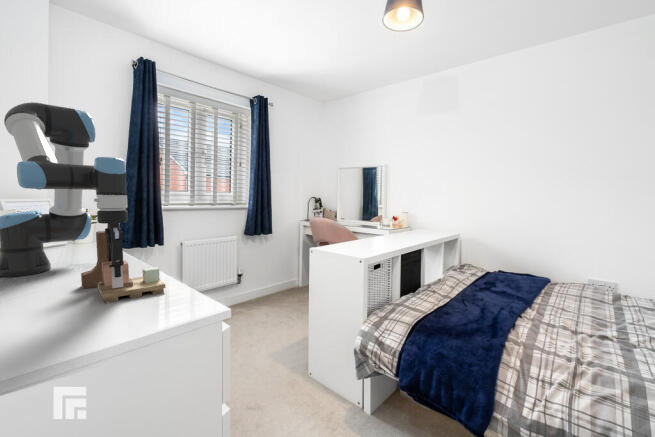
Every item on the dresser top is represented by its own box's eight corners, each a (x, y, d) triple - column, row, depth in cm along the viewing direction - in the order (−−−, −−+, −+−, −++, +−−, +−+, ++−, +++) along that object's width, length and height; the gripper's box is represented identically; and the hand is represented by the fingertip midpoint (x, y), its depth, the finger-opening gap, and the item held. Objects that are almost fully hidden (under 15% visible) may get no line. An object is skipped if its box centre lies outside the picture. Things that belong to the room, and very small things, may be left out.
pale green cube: (142, 280, 99) (142, 268, 99) (156, 278, 102) (156, 266, 102) (145, 283, 96) (145, 270, 96) (159, 280, 99) (159, 268, 99)
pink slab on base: (98, 286, 93) (97, 262, 92) (129, 281, 98) (128, 259, 97) (100, 290, 88) (99, 266, 87) (133, 285, 93) (132, 262, 93)
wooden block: (82, 289, 98) (79, 233, 96) (81, 285, 101) (78, 232, 99) (116, 283, 104) (113, 231, 102) (114, 280, 107) (111, 230, 106)
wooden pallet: (98, 291, 96) (97, 283, 96) (154, 281, 106) (154, 274, 106) (103, 303, 85) (102, 294, 85) (165, 291, 96) (165, 284, 96)
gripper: (93, 208, 96) (97, 280, 97) (100, 211, 81) (104, 295, 83) (122, 207, 101) (125, 276, 102) (133, 210, 86) (136, 289, 88)
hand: (116, 284), depth 93 cm, fingers closed on pink slab on base, 6 cm apart
